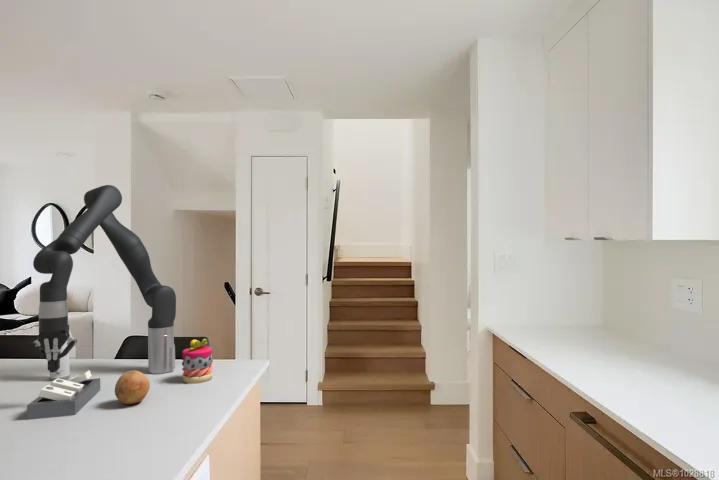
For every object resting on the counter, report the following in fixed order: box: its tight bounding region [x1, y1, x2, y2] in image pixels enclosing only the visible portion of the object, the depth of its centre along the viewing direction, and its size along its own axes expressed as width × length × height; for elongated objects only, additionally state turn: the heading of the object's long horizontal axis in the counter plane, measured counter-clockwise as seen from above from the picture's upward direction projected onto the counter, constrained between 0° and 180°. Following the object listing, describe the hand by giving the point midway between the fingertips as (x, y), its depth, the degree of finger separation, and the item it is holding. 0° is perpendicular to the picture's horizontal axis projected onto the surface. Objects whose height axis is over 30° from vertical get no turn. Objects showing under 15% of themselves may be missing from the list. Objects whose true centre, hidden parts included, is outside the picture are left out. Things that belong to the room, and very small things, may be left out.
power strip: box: [26, 377, 101, 420], centre depth 146 cm, size 12×33×4 cm, turn 14°
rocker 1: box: [38, 384, 76, 401], centre depth 135 cm, size 8×4×2 cm, turn 104°
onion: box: [114, 370, 151, 405], centre depth 141 cm, size 10×10×10 cm
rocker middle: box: [49, 378, 84, 392], centre depth 142 cm, size 8×4×2 cm, turn 104°
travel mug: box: [49, 324, 71, 382], centre depth 170 cm, size 6×7×20 cm
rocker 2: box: [65, 369, 93, 383], centre depth 150 cm, size 8×4×2 cm, turn 105°
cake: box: [181, 338, 214, 385], centre depth 166 cm, size 10×11×15 cm
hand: (53, 371), depth 142 cm, fingers closed
